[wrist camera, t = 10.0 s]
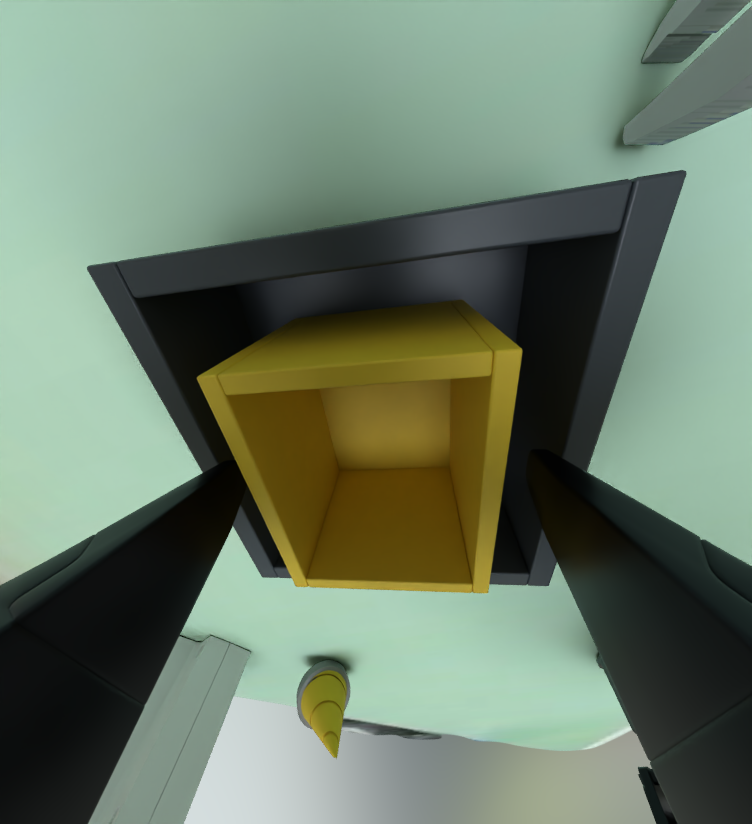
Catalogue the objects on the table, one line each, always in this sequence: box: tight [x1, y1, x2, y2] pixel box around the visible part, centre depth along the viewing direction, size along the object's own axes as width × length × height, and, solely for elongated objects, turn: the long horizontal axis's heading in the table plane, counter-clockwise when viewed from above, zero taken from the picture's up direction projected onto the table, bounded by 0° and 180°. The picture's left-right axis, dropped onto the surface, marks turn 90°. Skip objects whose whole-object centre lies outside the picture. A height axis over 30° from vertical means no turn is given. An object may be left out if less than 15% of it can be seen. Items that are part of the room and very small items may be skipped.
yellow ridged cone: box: [297, 660, 350, 758], centre depth 27 cm, size 5×5×10 cm
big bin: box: [87, 170, 686, 586], centre depth 11 cm, size 12×13×5 cm
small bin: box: [197, 300, 523, 593], centre depth 10 cm, size 6×8×6 cm
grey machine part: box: [88, 636, 251, 824], centre depth 25 cm, size 12×14×15 cm
